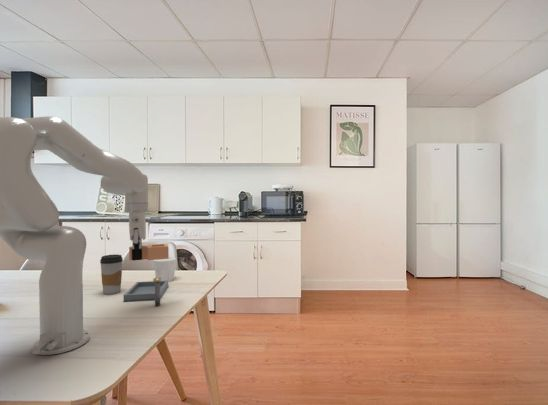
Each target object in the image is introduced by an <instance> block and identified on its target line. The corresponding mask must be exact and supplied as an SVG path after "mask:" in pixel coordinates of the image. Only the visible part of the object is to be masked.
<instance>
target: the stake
mask: <svg viewBox="0 0 548 405" xmlns="http://www.w3.org/2000/svg"><path fill="white" fill-rule="evenodd" d="M153 281H154V282H155V300H154V307H159V306H161V299H160V281H161V278H155V277H154V278H153Z"/></svg>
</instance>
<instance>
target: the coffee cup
mask: <svg viewBox="0 0 548 405" xmlns="http://www.w3.org/2000/svg"><path fill="white" fill-rule="evenodd" d="M100 258H101V259H100V260H99V263H100V272H101V274H100V276H101V284H102V292H103V294H104V295H108V296H109V295H115V294H118V293H120V291H121V288H122V279H123V278H122V275H123V274H122V273H123V271H122V270H123V259H124V257H122V254H108V255H102V256H101V257H100Z"/></svg>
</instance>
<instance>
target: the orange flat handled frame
mask: <svg viewBox="0 0 548 405" xmlns="http://www.w3.org/2000/svg"><path fill="white" fill-rule="evenodd" d="M141 248H142V260H141V261H143V260H147V261H153V260H158V259H169V257H170V256H169V254H170V253H169V243H155V244H154V243H153V244H152V243H151V244H147V245H142V246H141ZM128 250H129V254H128V256H129V258H128V259H129V261H130V262H131V261H133V260H132V246H129V248H128Z"/></svg>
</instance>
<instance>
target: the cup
mask: <svg viewBox="0 0 548 405" xmlns="http://www.w3.org/2000/svg"><path fill="white" fill-rule="evenodd" d="M176 260H177V258H176V257H173V256H169V259H158V260H152V261H153V267H154V275H155V277H154V278H161V281H168V283H170V282H171V281H174V280H175V274H176V273H175V272H176V271H175V270H176Z"/></svg>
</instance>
